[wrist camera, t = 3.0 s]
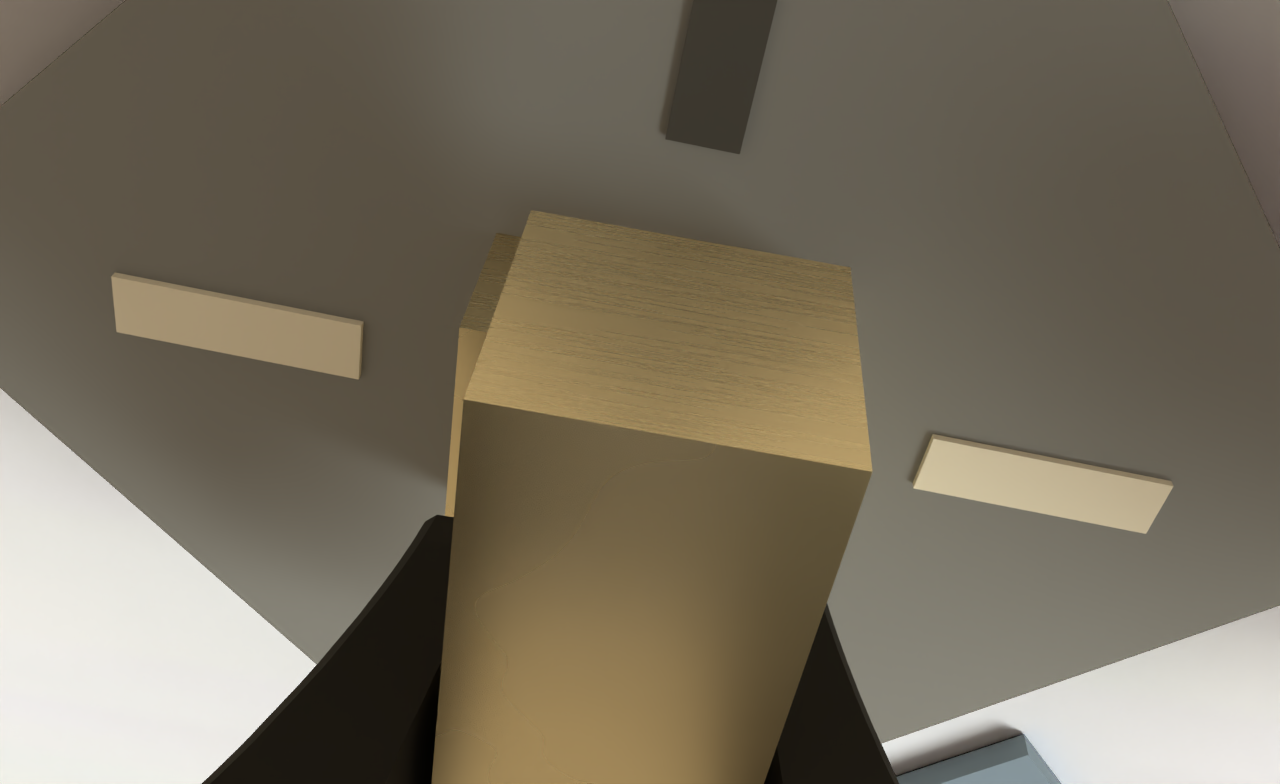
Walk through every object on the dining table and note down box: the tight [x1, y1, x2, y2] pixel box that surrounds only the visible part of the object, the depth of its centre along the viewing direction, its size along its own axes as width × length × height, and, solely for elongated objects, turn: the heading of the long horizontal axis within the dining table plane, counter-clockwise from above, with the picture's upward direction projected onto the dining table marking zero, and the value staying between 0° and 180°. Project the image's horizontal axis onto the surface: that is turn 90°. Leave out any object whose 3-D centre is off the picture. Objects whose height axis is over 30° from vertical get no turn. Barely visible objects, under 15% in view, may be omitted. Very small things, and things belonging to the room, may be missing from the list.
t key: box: [432, 210, 872, 784], centre depth 12 cm, size 9×4×6 cm, turn 171°
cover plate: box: [0, 0, 1280, 743], centre depth 15 cm, size 14×14×1 cm
